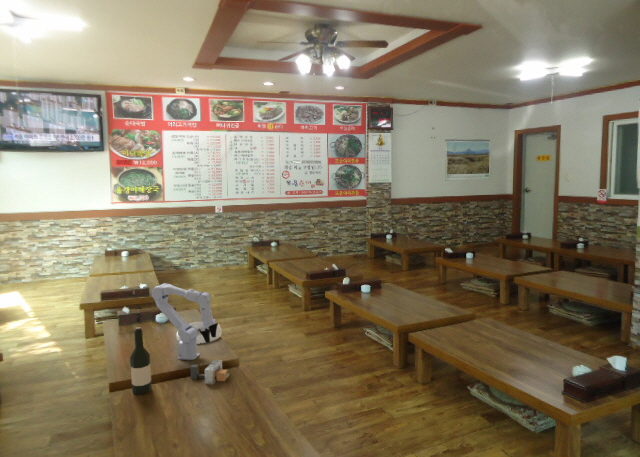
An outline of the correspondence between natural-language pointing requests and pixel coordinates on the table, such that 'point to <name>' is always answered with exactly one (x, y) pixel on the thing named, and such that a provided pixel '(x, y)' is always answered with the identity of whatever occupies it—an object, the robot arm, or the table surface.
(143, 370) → the wine bottle
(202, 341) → the white ring
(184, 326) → the robot arm
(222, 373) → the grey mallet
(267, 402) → the table surface
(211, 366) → the grey stone bridge block
